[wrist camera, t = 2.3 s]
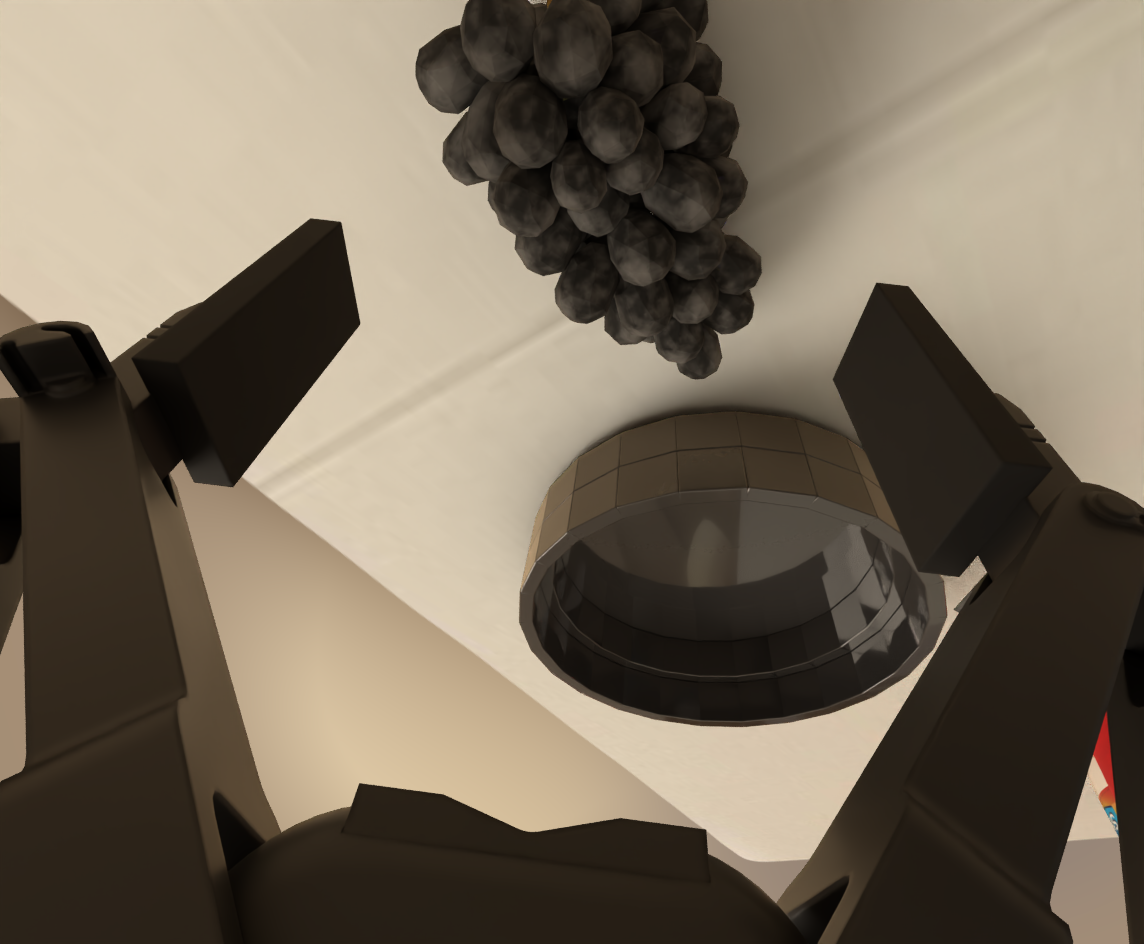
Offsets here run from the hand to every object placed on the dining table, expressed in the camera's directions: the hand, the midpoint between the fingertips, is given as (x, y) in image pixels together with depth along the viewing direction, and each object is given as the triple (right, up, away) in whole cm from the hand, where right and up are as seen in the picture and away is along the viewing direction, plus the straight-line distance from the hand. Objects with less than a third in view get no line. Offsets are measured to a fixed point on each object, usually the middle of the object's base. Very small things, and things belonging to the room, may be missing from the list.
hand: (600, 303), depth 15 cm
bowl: (+8, -9, +21) cm, 24 cm away
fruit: (+1, +7, +7) cm, 10 cm away
